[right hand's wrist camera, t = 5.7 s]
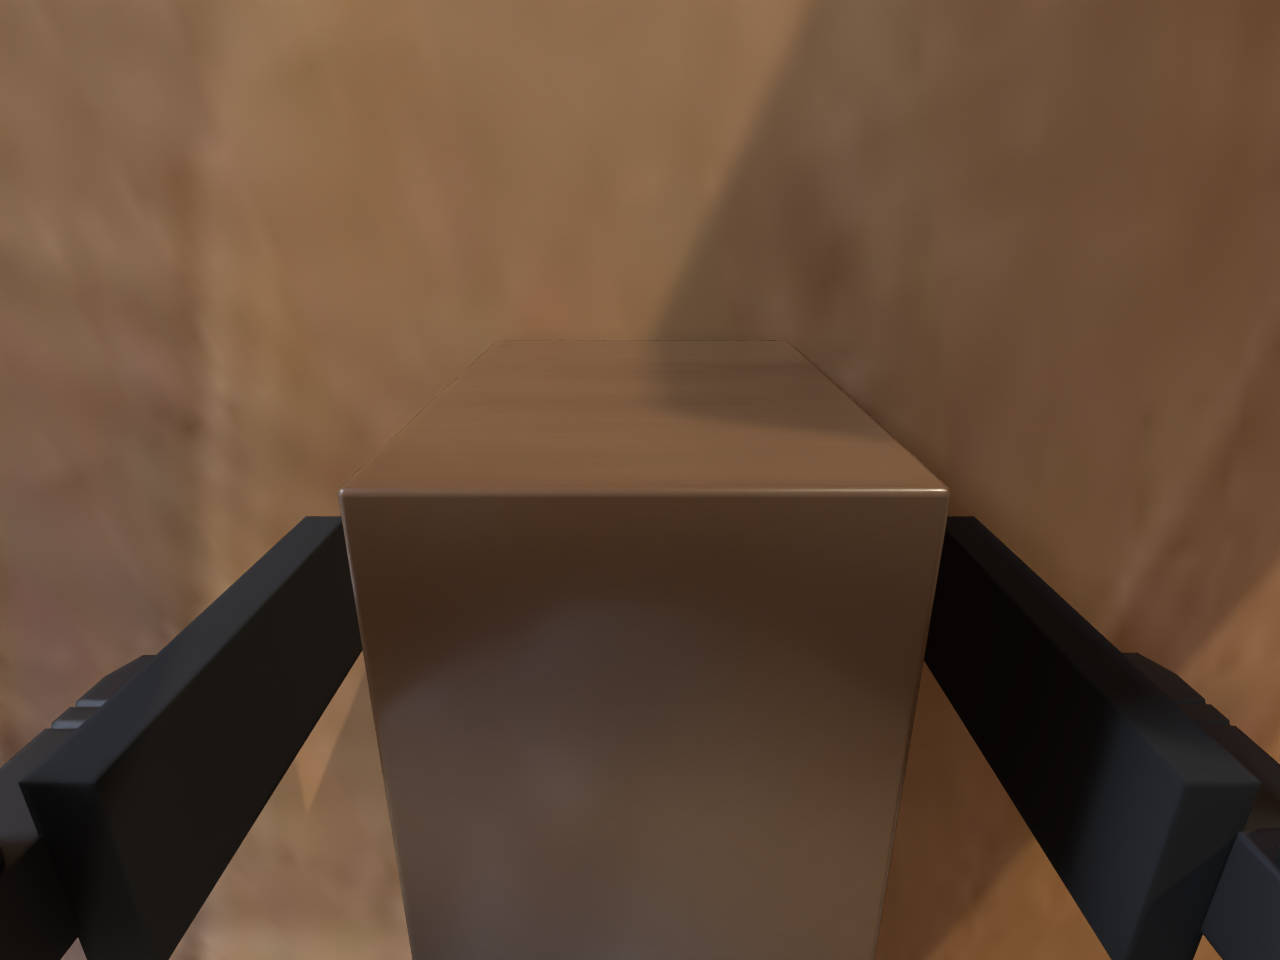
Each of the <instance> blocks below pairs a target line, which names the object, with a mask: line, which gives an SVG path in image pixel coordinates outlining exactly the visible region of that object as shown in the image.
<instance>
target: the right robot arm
mask: <svg viewBox="0 0 1280 960" xmlns="http://www.w3.org/2000/svg"><path fill="white" fill-rule="evenodd" d="M362 650H363V648H362V642H361V636H360V629H359V623H358V617H357V611H356V605H355V598H354V592H353V586H352V580H351V574H350V567H349V561H348V555H347V549H346V543H345V536H344V530H343V524H342V518H341V517H305V518H304V519H303V520H302V521H301V522H299V523H298V524H297V525H296V526H295V527H294V528H293V529H292V530H291V531H290V532H289V533H288V534H287V535H285V536H284V537H283V538H282V539H281V540H280V541H279V542H278V543H277V544H276V545H275V546H274V547H272V548H271V549H270V550H269V551H268V552H267V553H266V554H265V555H264V556H263V557H262V558H261V559H260V560H258V561H257V562H256V563H255V564H254V565H253V566H252V567H251V568H250V569H249V570H248V571H247V572H245V573H244V574H243V575H242V576H241V577H240V578H239V579H238V580H237V581H236V582H235V583H234V584H233V585H231V586H230V587H229V588H228V589H227V590H226V591H225V592H224V593H223V594H222V595H221V596H220V597H218V598H217V599H216V600H215V601H214V602H213V603H212V604H211V605H210V606H209V607H208V608H207V609H206V610H204V611H203V612H202V613H201V614H200V615H199V616H198V617H197V618H196V619H195V620H194V621H193V622H191V623H190V624H189V625H188V626H187V627H186V628H185V629H184V630H183V631H182V632H181V633H180V634H179V635H177V636H176V637H175V638H174V639H173V640H172V641H171V642H170V643H169V644H168V645H167V646H166V647H164V648H163V649H162V650H161V651H160V652H159V653H158V654H157V655H143V656H141V657H139V658H137V659H136V660H134V661H132V662H130V663H128V664H127V665H125V666H123V667H121V668H119V669H118V670H116V671H114V672H112V673H110V674H109V675H107V676H105V677H104V678H103V679H101V680H100V681H99V682H98V683H97V684H96V685H95V686H94V687H92V688H91V689H90V690H89V691H88V692H87V693H86V694H84V695H83V696H82V697H81V698H80V699H79V700H78V701H76V705H75V707H70V708H68V709H67V710H66V711H65V712H64V713H63V714H62V715H60V716H59V717H58V718H57V719H56V720H55V721H54V722H52V726H51V728H50V729H44V730H43V731H42V732H41V733H40V734H39V735H38V736H36V737H35V738H34V739H33V740H32V741H31V742H30V743H29V744H27V745H26V746H25V747H24V748H23V749H22V750H21V751H19V752H18V753H17V754H16V755H15V756H14V757H13V758H11V759H10V760H9V761H8V762H7V763H6V764H5V765H3V766H2V767H1V768H0V960H60V959H61V958H62V957H63V956H64V954H65V953H66V952H67V950H68V949H69V948H70V946H71V945H72V944H73V943H74V941H75V940H76V939H77V937H78V938H79V940H80V943H81V945H82V948H83V950H84V953H85V955H86V958H87V960H168V959H169V958H170V956H171V955H172V953H173V952H174V950H175V948H176V947H177V945H178V944H179V942H180V940H181V939H182V937H183V936H184V934H185V932H186V931H187V929H188V928H189V926H190V924H191V923H192V921H193V920H194V918H195V916H196V915H197V913H198V912H199V910H200V908H201V907H202V905H203V904H204V902H205V900H206V899H207V897H208V896H209V894H210V892H211V891H212V889H213V888H214V886H215V884H216V883H217V881H218V880H219V878H220V877H221V875H222V873H223V872H224V870H225V869H226V867H227V865H228V864H229V862H230V861H231V859H232V857H233V856H234V854H235V853H236V851H237V849H238V848H239V846H240V845H241V843H242V841H243V840H244V838H245V837H246V835H247V833H248V832H249V830H250V829H251V827H252V825H253V824H254V822H255V821H256V819H257V817H258V816H259V814H260V813H261V811H262V810H263V808H264V806H265V805H266V803H267V802H268V800H269V798H270V797H271V795H272V794H273V792H274V790H275V789H276V787H277V786H278V784H279V782H280V781H281V779H282V778H283V776H284V774H285V773H286V771H287V770H288V768H289V766H290V765H291V763H292V762H293V760H294V758H295V757H296V755H297V754H298V752H299V750H300V749H301V747H302V746H303V744H304V743H305V741H306V739H307V738H308V736H309V735H310V733H311V731H312V730H313V728H314V727H315V725H316V723H317V722H318V720H319V719H320V717H321V715H322V714H323V712H324V711H325V709H326V707H327V706H328V704H329V703H330V701H331V699H332V698H333V696H334V695H335V693H336V691H337V690H338V688H339V687H340V685H341V683H342V682H343V680H344V679H345V677H346V676H347V674H348V672H349V671H350V669H351V668H352V666H353V664H354V663H355V661H356V660H357V658H358V656H359V655H360V653H361V652H362ZM924 661H925V663H926V664H927V666H928V668H929V669H930V671H931V672H932V674H933V675H934V677H935V679H936V680H937V682H938V683H939V685H940V687H941V688H942V690H943V691H944V693H945V695H946V696H947V698H948V699H949V701H950V703H951V704H952V706H953V707H954V709H955V711H956V712H957V714H958V715H959V717H960V719H961V720H962V722H963V723H964V725H965V727H966V728H967V730H968V731H969V733H970V735H971V736H972V738H973V739H974V741H975V742H976V744H977V746H978V747H979V749H980V750H981V752H982V754H983V755H984V757H985V758H986V760H987V762H988V763H989V765H990V766H991V768H992V770H993V771H994V773H995V774H996V776H997V778H998V779H999V781H1000V782H1001V784H1002V786H1003V787H1004V789H1005V790H1006V792H1007V794H1008V795H1009V797H1010V798H1011V800H1012V802H1013V803H1014V805H1015V806H1016V808H1017V809H1018V811H1019V813H1020V814H1021V816H1022V817H1023V819H1024V821H1025V822H1026V824H1027V825H1028V827H1029V829H1030V830H1031V832H1032V833H1033V835H1034V837H1035V838H1036V840H1037V841H1038V843H1039V845H1040V846H1041V848H1042V849H1043V851H1044V853H1045V854H1046V856H1047V857H1048V859H1049V861H1050V862H1051V864H1052V865H1053V867H1054V869H1055V870H1056V872H1057V873H1058V875H1059V876H1060V878H1061V880H1062V881H1063V883H1064V884H1065V886H1066V888H1067V889H1068V891H1069V892H1070V894H1071V896H1072V897H1073V899H1074V900H1075V902H1076V904H1077V905H1078V907H1079V908H1080V910H1081V912H1082V913H1083V915H1084V916H1085V918H1086V920H1087V921H1088V923H1089V924H1090V926H1091V928H1092V929H1093V931H1094V932H1095V934H1096V936H1097V937H1098V939H1099V940H1100V942H1101V944H1102V945H1103V947H1104V948H1105V950H1106V951H1107V953H1108V955H1109V956H1110V958H1111V959H1112V960H1193V958H1194V955H1195V953H1196V950H1197V948H1198V945H1199V943H1200V940H1201V938H1202V935H1204V936H1205V937H1206V939H1207V940H1208V941H1209V942H1210V944H1211V945H1212V946H1213V948H1214V949H1215V950H1216V951H1217V953H1218V954H1219V955H1220V957H1221V958H1222V959H1223V960H1280V764H1279V763H1277V762H1276V761H1275V760H1274V759H1273V758H1272V757H1271V756H1269V755H1268V754H1267V753H1266V752H1265V751H1264V750H1263V749H1261V748H1260V747H1259V746H1258V745H1257V744H1256V743H1254V742H1253V741H1252V740H1251V739H1250V738H1249V737H1248V736H1246V735H1245V734H1244V733H1243V732H1242V731H1241V730H1240V729H1238V728H1237V727H1236V726H1230V724H1229V720H1228V719H1227V718H1226V717H1225V716H1223V715H1222V714H1221V713H1220V712H1219V711H1218V710H1217V709H1215V708H1214V707H1213V706H1212V705H1211V704H1206V703H1205V699H1204V698H1203V697H1202V696H1201V695H1199V694H1198V693H1197V692H1196V691H1195V690H1194V689H1192V688H1191V687H1190V686H1189V685H1188V684H1187V683H1186V682H1184V681H1183V680H1182V679H1181V678H1180V677H1179V676H1178V675H1176V674H1175V673H1173V672H1171V671H1169V670H1168V669H1166V668H1164V667H1162V666H1160V665H1158V664H1157V663H1155V662H1153V661H1151V660H1149V659H1148V658H1146V657H1144V656H1142V655H1140V654H1139V653H1121V652H1120V651H1119V650H1118V649H1117V648H1116V647H1114V646H1113V645H1112V644H1111V643H1110V642H1109V641H1108V640H1107V639H1106V638H1105V637H1104V636H1103V635H1101V634H1100V633H1099V632H1098V631H1097V630H1096V629H1095V628H1094V627H1093V626H1092V625H1091V624H1090V623H1089V622H1087V621H1086V620H1085V619H1084V618H1083V617H1082V616H1081V615H1080V614H1079V613H1078V612H1077V611H1076V610H1074V609H1073V608H1072V607H1071V606H1070V605H1069V604H1068V603H1067V602H1066V601H1065V600H1064V599H1063V598H1062V597H1060V596H1059V595H1058V594H1057V593H1056V592H1055V591H1054V590H1053V589H1052V588H1051V587H1050V586H1049V585H1047V584H1046V583H1045V582H1044V581H1043V580H1042V579H1041V578H1040V577H1039V576H1038V575H1037V574H1036V573H1035V572H1033V571H1032V570H1031V569H1030V568H1029V567H1028V566H1027V565H1026V564H1025V563H1024V562H1023V561H1022V560H1020V559H1019V558H1018V557H1017V556H1016V555H1015V554H1014V553H1013V552H1012V551H1011V550H1010V549H1009V548H1008V547H1006V546H1005V545H1004V544H1003V543H1002V542H1001V541H1000V540H999V539H998V538H997V537H996V536H995V535H993V534H992V533H991V532H990V531H989V530H988V529H987V528H986V527H985V526H984V525H983V524H982V523H981V522H979V521H978V520H977V519H976V518H975V517H947V523H946V529H945V535H944V541H943V547H942V553H941V559H940V565H939V571H938V577H937V583H936V589H935V595H934V601H933V607H932V613H931V619H930V625H929V631H928V637H927V643H926V650H925V656H924Z"/></svg>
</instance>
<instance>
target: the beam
mask: <svg viewBox="0 0 1280 960" xmlns="http://www.w3.org/2000/svg"><path fill="white" fill-rule="evenodd" d="M338 499H339V505H340V511H341V518H342V524H343V530H344V536H345V543H346V549H347V555H348V561H349V567H350V574H351V580H352V586H353V592H354V598H355V605H356V611H357V617H358V623H359V629H360V636H361V642H362V648H363V654H364V661H365V667H366V673H367V679H368V685H369V692H370V698H371V704H372V710H373V716H374V723H375V729H376V735H377V741H378V747H379V754H380V760H381V766H382V772H383V778H384V785H385V791H386V797H387V803H388V810H389V816H390V822H391V828H392V834H393V841H394V847H395V853H396V859H397V865H398V872H399V878H400V884H401V890H402V896H403V903H404V909H405V915H406V921H407V928H408V934H409V940H410V946H411V952H412V959H413V960H874V957H875V951H876V945H877V939H878V933H879V927H880V921H881V915H882V909H883V903H884V897H885V891H886V885H887V879H888V873H889V867H890V861H891V855H892V849H893V843H894V837H895V830H896V824H897V818H898V812H899V806H900V800H901V794H902V788H903V782H904V776H905V770H906V764H907V758H908V752H909V746H910V740H911V734H912V728H913V722H914V716H915V710H916V704H917V698H918V692H919V686H920V680H921V674H922V668H923V662H924V656H925V650H926V643H927V637H928V631H929V625H930V619H931V613H932V607H933V601H934V595H935V589H936V583H937V577H938V571H939V565H940V559H941V553H942V547H943V541H944V535H945V529H946V523H947V517H948V511H949V505H950V499H951V493H950V489H949V487H947V486H946V485H945V484H944V483H943V482H942V481H941V480H940V479H939V478H938V477H937V476H935V475H934V474H933V473H932V472H931V471H930V470H929V469H928V468H927V467H926V466H924V465H923V464H922V463H921V462H920V461H919V460H918V459H917V458H916V457H915V456H913V455H912V454H911V453H910V452H909V451H908V450H907V449H906V448H905V447H904V446H902V445H901V444H900V443H899V442H898V441H897V440H896V439H895V438H894V437H893V436H891V435H890V434H889V433H888V432H887V431H886V430H885V429H884V428H883V427H882V426H880V425H879V424H878V423H877V422H876V421H875V420H874V419H873V418H872V417H871V416H869V415H868V414H867V413H866V412H865V411H864V410H863V409H862V408H861V407H860V406H858V405H857V404H856V403H855V402H854V401H853V400H852V399H851V398H850V397H849V396H848V395H846V394H845V393H844V392H843V391H842V390H841V389H840V388H839V387H838V386H837V385H835V384H834V383H833V382H832V381H831V380H830V379H829V378H828V377H827V376H826V375H824V374H823V373H822V372H821V371H820V370H819V369H818V368H817V367H816V366H815V365H813V364H812V363H811V362H810V361H809V360H808V359H807V358H806V357H805V356H804V355H802V354H801V353H800V352H799V351H798V350H797V349H796V348H795V347H794V346H793V345H791V344H790V343H789V342H787V341H497V342H495V343H494V344H493V345H492V346H491V347H490V348H489V349H488V350H487V351H485V352H484V353H483V354H482V355H481V356H480V357H479V358H478V359H477V360H476V361H475V362H474V363H473V364H472V365H471V366H469V367H468V368H467V369H466V370H465V371H464V372H463V373H462V374H461V375H460V376H459V377H458V378H457V379H456V380H454V381H453V382H452V383H451V384H450V385H449V386H448V387H447V388H446V389H445V390H444V391H443V392H442V393H441V394H440V395H438V396H437V397H436V398H435V399H434V400H433V401H432V402H431V403H430V404H429V405H428V406H427V407H426V408H425V409H424V410H422V411H421V412H420V413H419V414H418V415H417V416H416V417H415V418H414V419H413V420H412V421H411V422H410V423H409V424H408V425H406V426H405V427H404V428H403V429H402V430H401V431H400V432H399V433H398V434H397V435H396V436H395V437H394V438H393V439H392V440H390V441H389V442H388V443H387V444H386V445H385V446H384V447H383V448H382V449H381V450H380V451H379V452H378V453H377V454H376V455H374V456H373V457H372V458H371V459H370V460H369V461H368V462H367V463H366V464H365V465H364V466H363V467H362V468H361V469H360V470H358V471H357V472H356V473H355V474H354V475H353V476H352V477H351V478H350V479H349V480H348V481H347V482H346V483H345V484H344V485H342V486H341V487H340V489H339V493H338Z"/></svg>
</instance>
